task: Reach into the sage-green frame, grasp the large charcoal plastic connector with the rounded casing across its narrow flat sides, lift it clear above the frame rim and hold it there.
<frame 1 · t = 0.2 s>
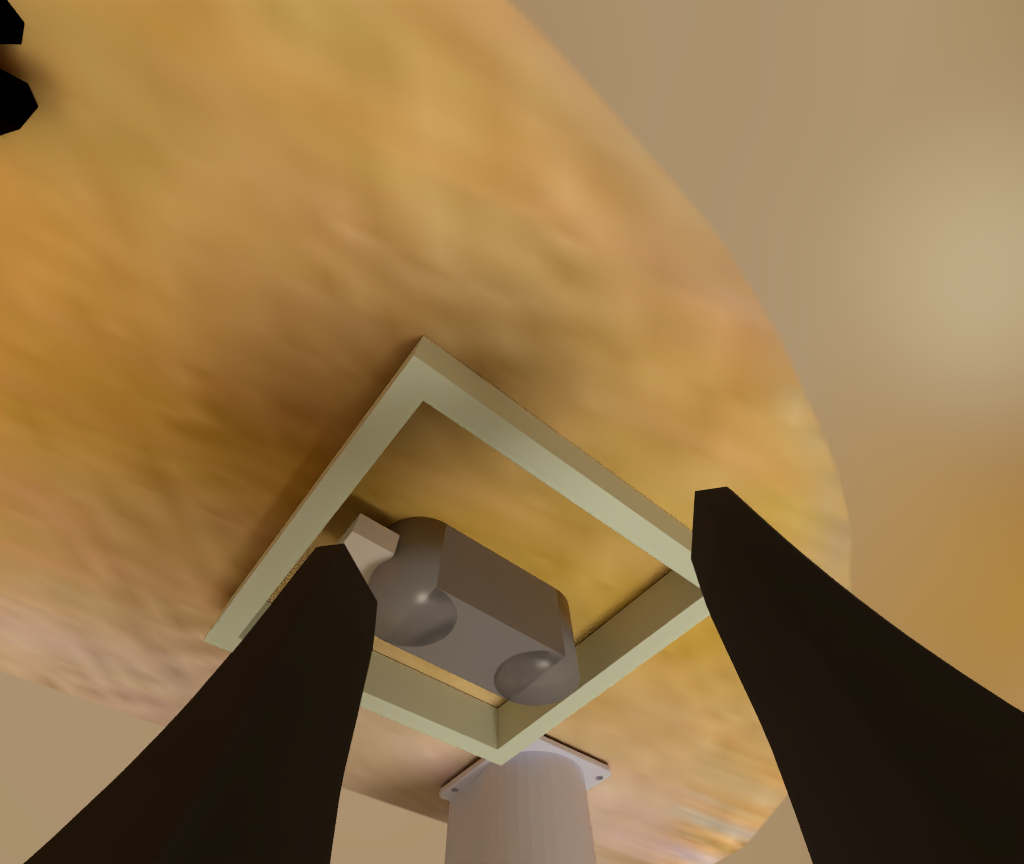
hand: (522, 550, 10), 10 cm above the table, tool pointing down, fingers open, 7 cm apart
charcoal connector: (479, 581, 24), resting in sage frame
sage frame: (471, 577, 24), on the table
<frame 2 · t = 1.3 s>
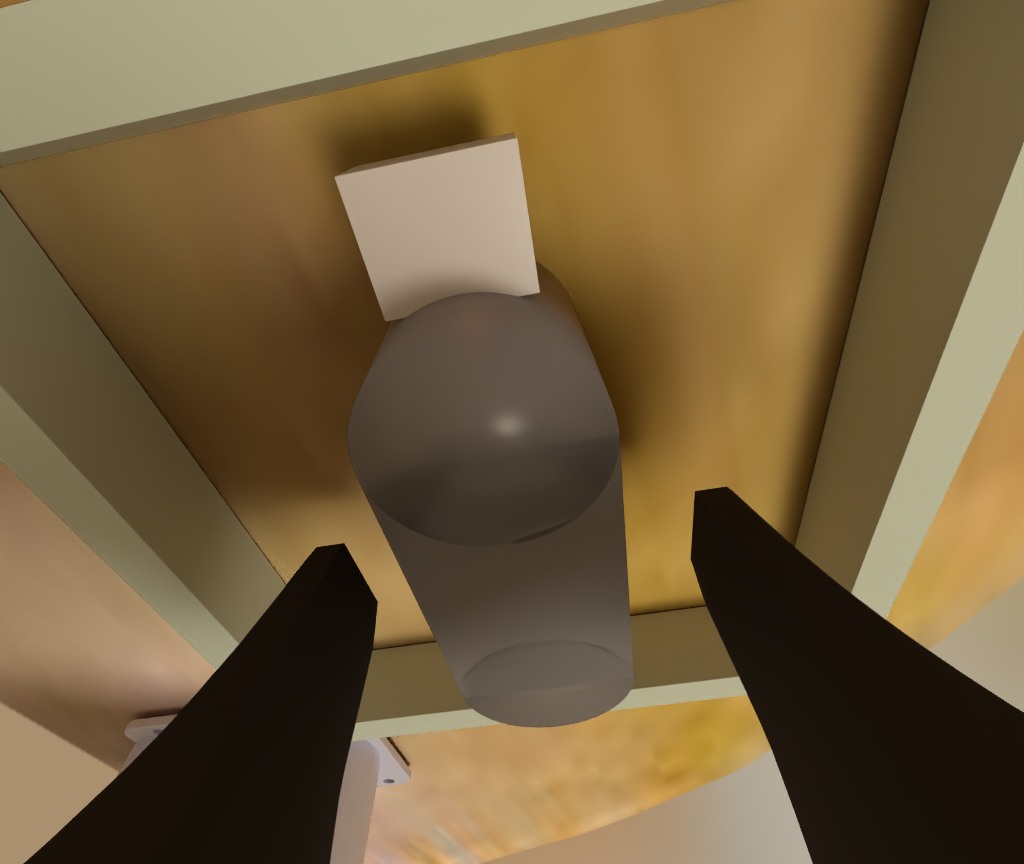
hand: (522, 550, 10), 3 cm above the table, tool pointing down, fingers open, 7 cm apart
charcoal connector: (515, 465, 12), resting in sage frame
sage frame: (511, 451, 12), on the table
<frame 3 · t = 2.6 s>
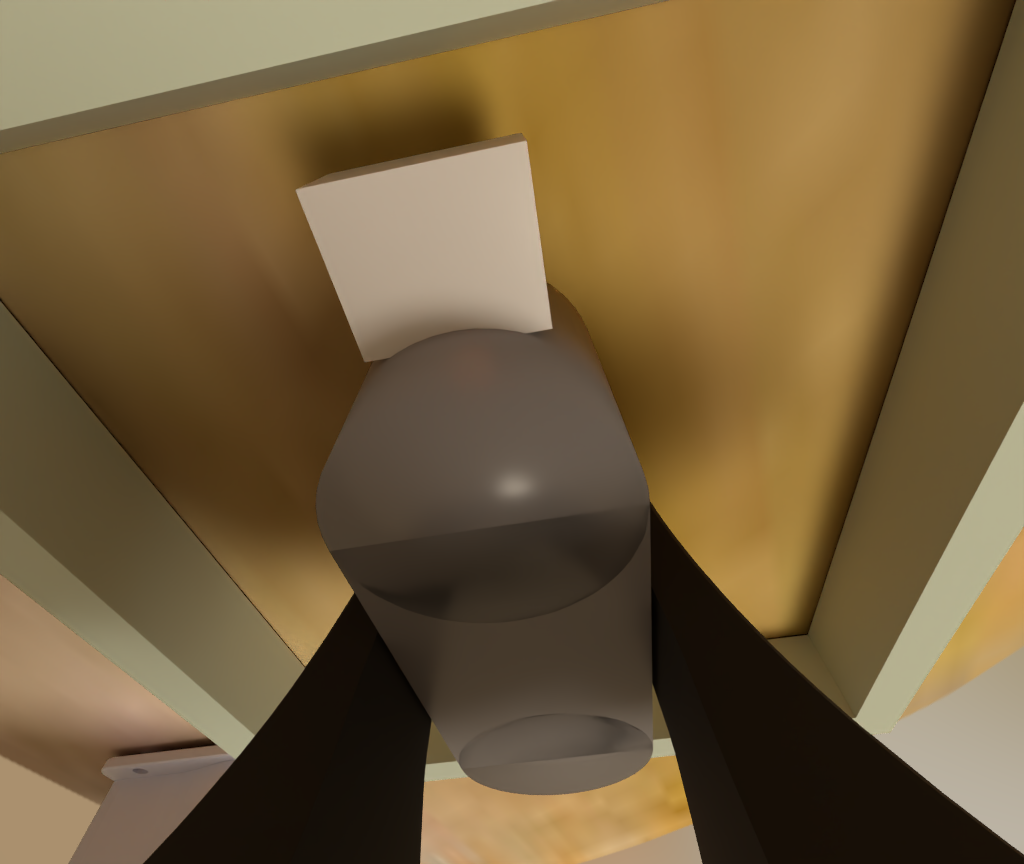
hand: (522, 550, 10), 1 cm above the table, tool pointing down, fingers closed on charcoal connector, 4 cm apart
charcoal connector: (519, 503, 11), resting in sage frame, touching gripper
sage frame: (515, 488, 11), on the table
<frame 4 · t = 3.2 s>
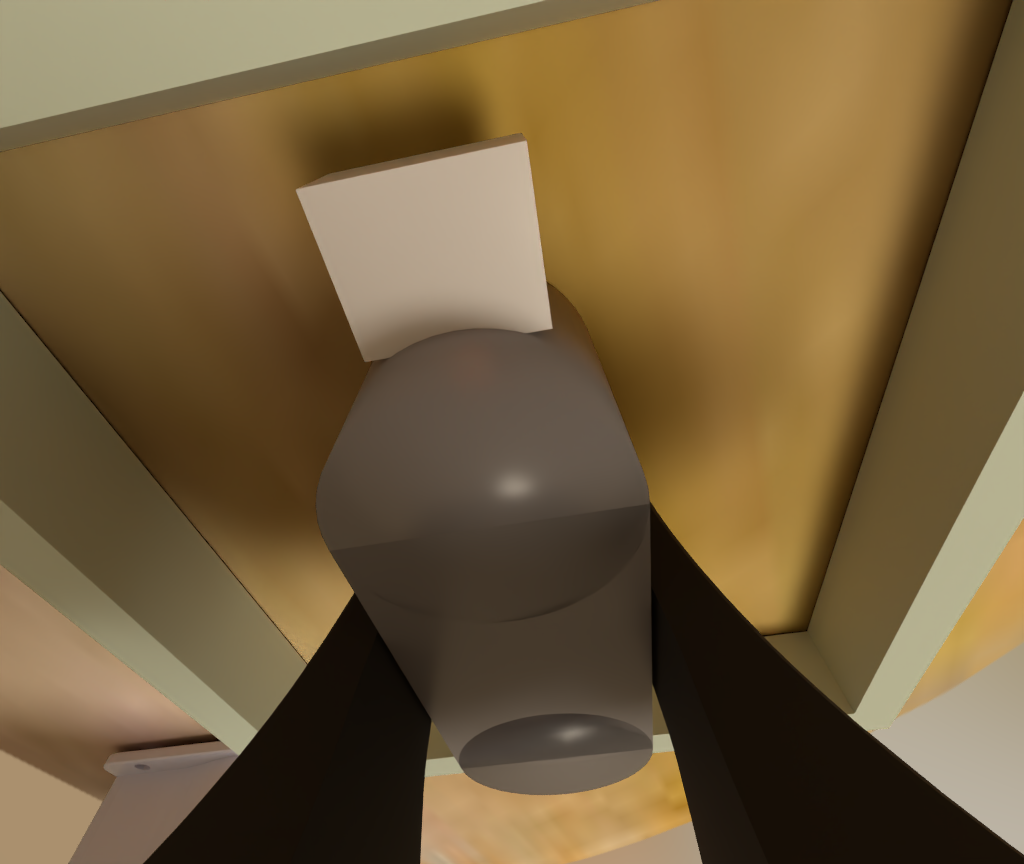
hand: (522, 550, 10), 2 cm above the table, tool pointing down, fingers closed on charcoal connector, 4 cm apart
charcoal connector: (519, 502, 11), resting in sage frame, touching gripper
sage frame: (516, 484, 11), on the table
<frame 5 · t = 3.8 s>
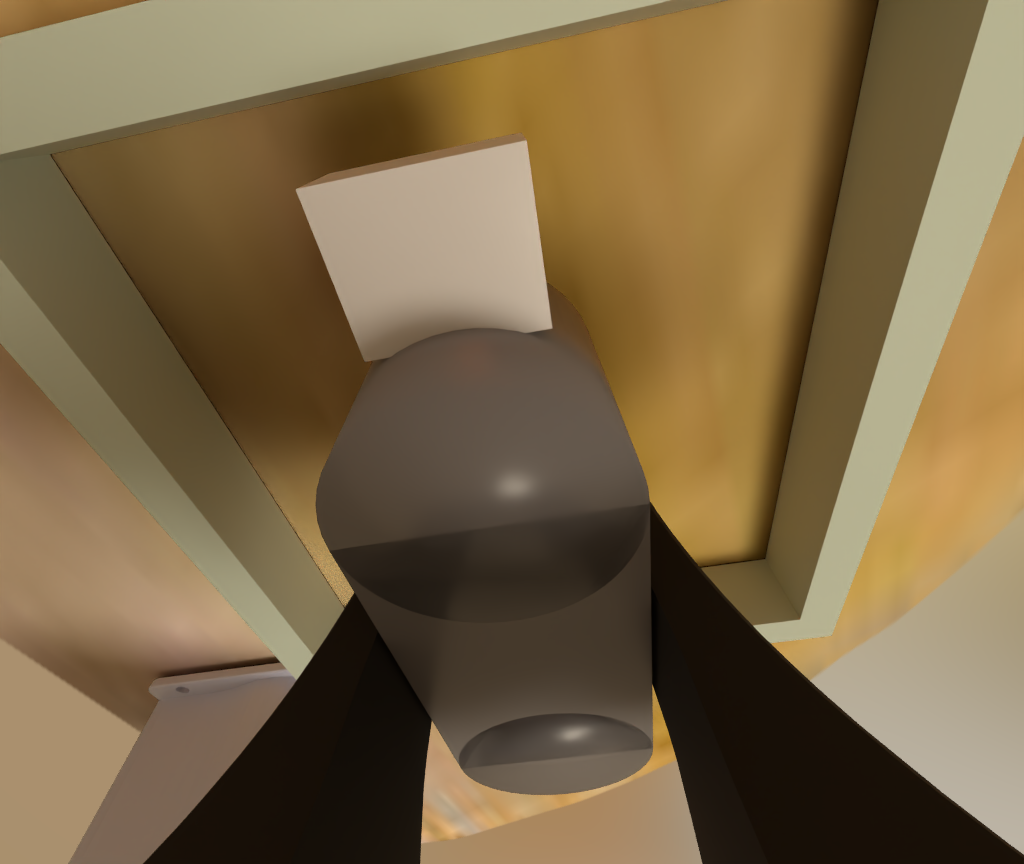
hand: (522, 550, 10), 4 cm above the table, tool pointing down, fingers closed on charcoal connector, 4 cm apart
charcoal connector: (519, 502, 11), point 3 cm above the table, touching gripper
sage frame: (512, 416, 13), on the table
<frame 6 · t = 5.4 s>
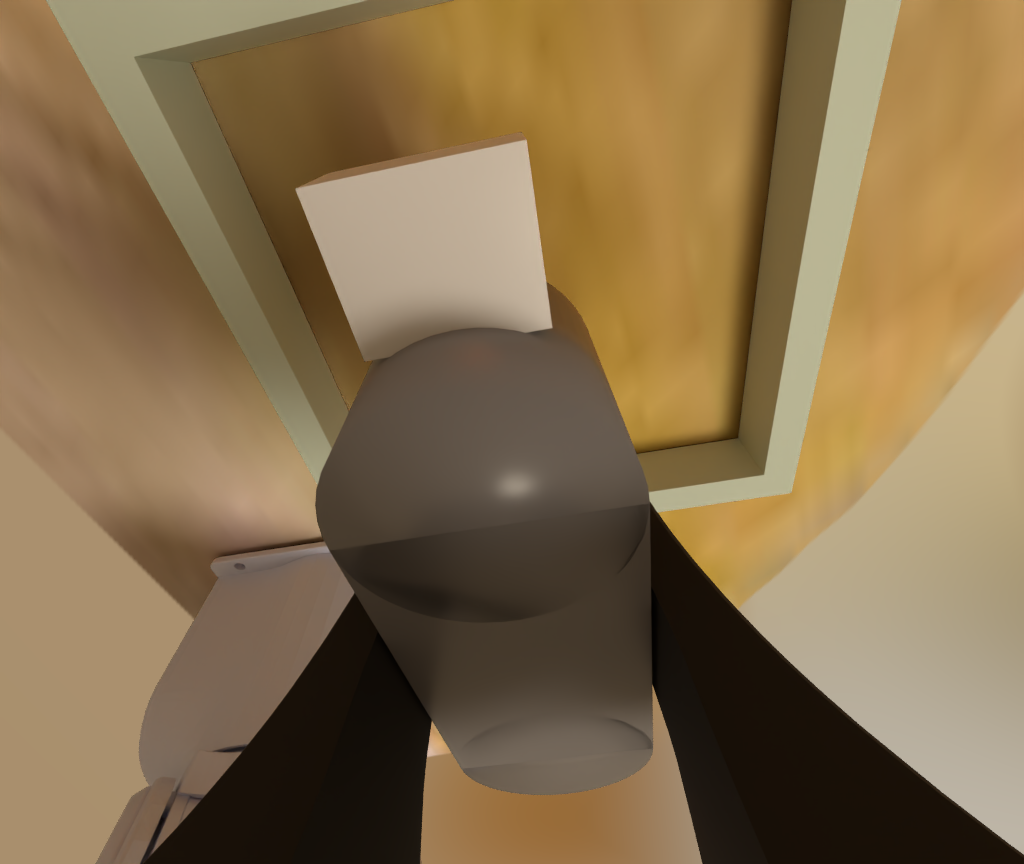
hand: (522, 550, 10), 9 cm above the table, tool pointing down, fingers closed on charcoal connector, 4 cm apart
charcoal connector: (519, 502, 11), point 8 cm above the table, touching gripper
sage frame: (529, 294, 16), on the table
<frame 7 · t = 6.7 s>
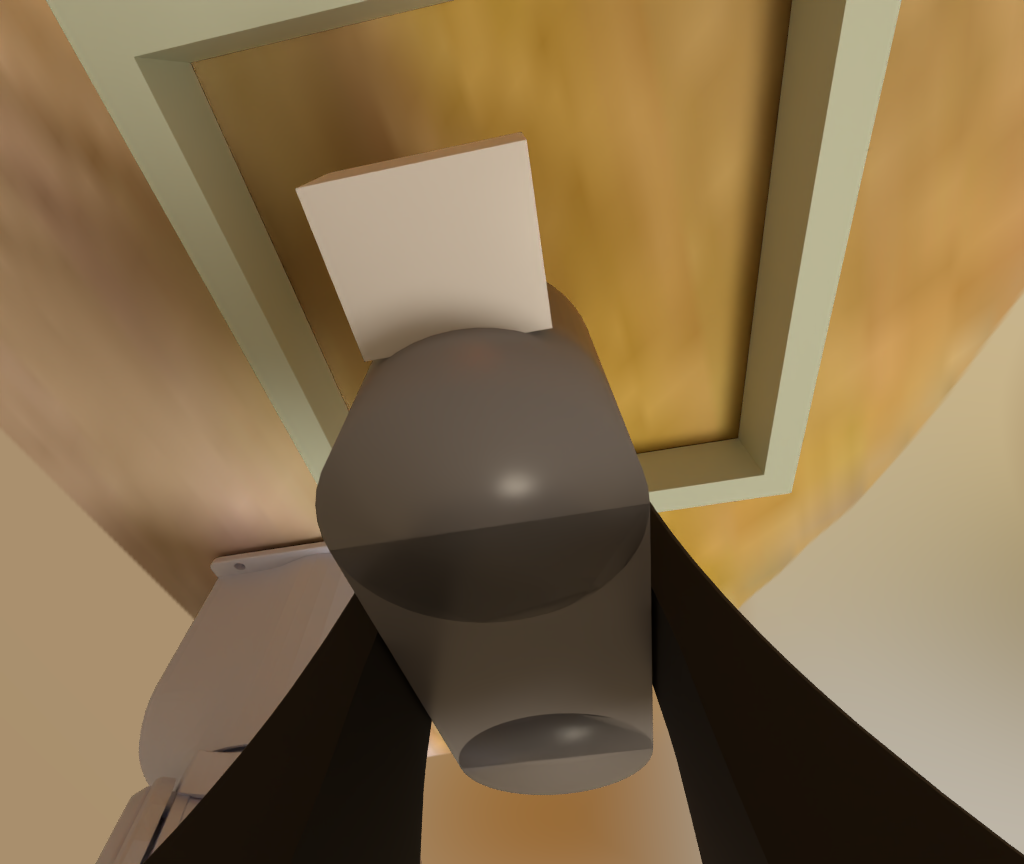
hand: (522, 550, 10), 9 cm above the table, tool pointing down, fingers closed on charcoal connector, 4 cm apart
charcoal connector: (519, 502, 11), point 8 cm above the table, touching gripper
sage frame: (529, 294, 16), on the table
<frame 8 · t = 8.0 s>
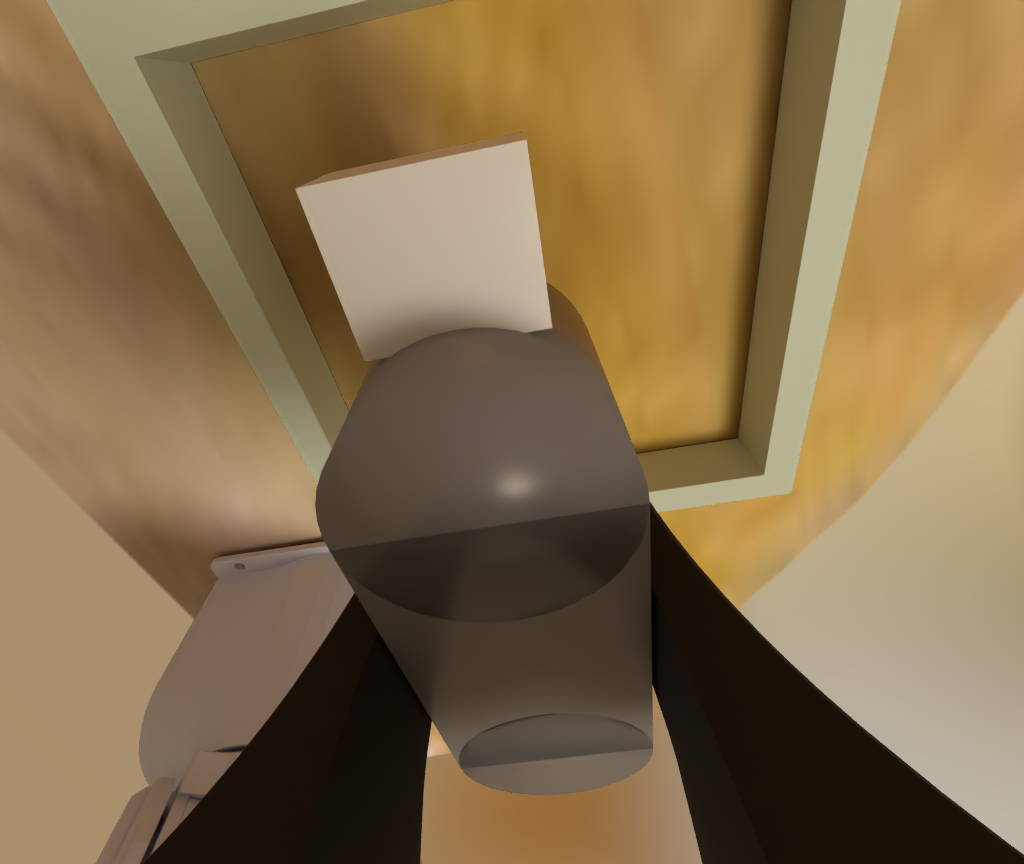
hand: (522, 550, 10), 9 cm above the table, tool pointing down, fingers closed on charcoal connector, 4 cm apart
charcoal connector: (519, 502, 11), point 8 cm above the table, touching gripper
sage frame: (529, 294, 16), on the table
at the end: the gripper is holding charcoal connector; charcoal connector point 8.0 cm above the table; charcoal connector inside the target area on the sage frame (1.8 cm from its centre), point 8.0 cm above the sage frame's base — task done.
